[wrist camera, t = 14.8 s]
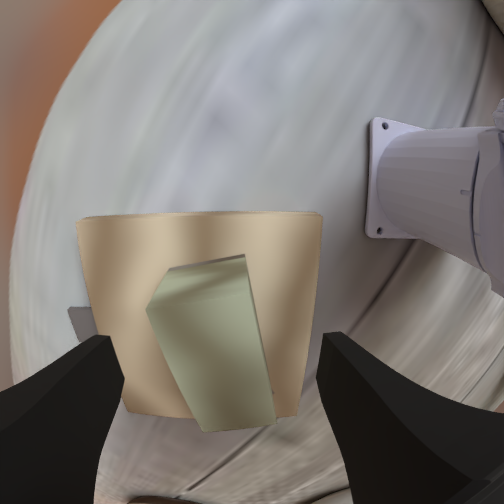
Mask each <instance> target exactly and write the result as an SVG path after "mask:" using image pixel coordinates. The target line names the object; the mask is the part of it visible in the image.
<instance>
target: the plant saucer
mask: <svg viewBox="0 0 504 504" xmlns="http://www.w3.org/2000/svg"><path fill="white" fill-rule="evenodd" d="M127 504H200V503H196V502H192V501H186V500H181V499H175V498H167V497H158V496H143V497H139V498H136V499H134V500H132V501H130V502H129V503H127Z"/></svg>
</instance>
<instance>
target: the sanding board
mask: <svg viewBox="0 0 504 504" xmlns="http://www.w3.org/2000/svg"><path fill="white" fill-rule="evenodd" d="M322 221H323V216H321V215H319V214H318V213H316V212H277V211H230V212H179V213H151V214H130V215H112V216H96V217H86V218H84V219H81V220H79V221H76V229H77V236H78V243H79V250H80V256H81V262H82V267H83V272H84V277H85V282H86V287H87V291H88V296H89V300H90V304H91V308H92V312H93V315H94V319H95V323H96V326H97V330H98V333H99V335H108V336H110V337H111V340H112V343H113V346H114V349H115V352H116V355H117V358H118V361H119V364H120V367H121V369H122V372H123V375H124V377H125V381H124V386H123V390H122V394H121V397H122V399H123V401H124V404H125V406H126V408H127V410H128V412H132V413H139V414H146V415H155V416H164V417H175V418H190V419H195V417H194V416H193V414H192V412H191V410H190V408H189V406H188V404H187V402H186V400H185V399H184V397H183V395H182V393H181V391H180V389H179V387H178V385H177V383H176V380H175V378H174V376H173V374H172V372H171V370H170V368H169V366H168V363H167V361H166V359H165V357H164V354H163V352H162V350H161V348H160V345H159V343H158V341H157V338H156V336H155V333H154V331H153V328H152V326H151V323H150V321H149V318H148V316H147V313H146V310H145V309H146V307H147V306H148V304H149V302H150V300H151V299H152V297H153V295H154V293H155V292H156V290H157V288H158V286H159V285H160V283H161V281H162V280H163V278H164V276H165V275H166V273H167V271H168V269H169V268H172V267H177V266H182V265H188V264H193V263H198V262H203V261H209V260H214V259H219V258H225V257H230V256H235V255H241V254H245V257H246V262H247V267H248V272H249V277H250V282H251V288H252V293H253V298H254V303H255V308H256V313H257V318H258V323H259V328H260V333H261V338H262V343H263V347H264V352H265V357H266V362H267V367H268V372H269V378H270V384H271V390H272V396H273V402H274V407H275V413H276V418H277V417H289V416H297V411H298V407H299V401H300V396H301V391H302V385H303V380H304V374H305V368H306V362H307V356H308V350H309V343H310V336H311V329H312V322H313V314H314V306H315V298H316V289H317V280H318V270H319V259H320V248H321V235H322Z"/></svg>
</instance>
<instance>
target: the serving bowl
mask: <svg viewBox="0 0 504 504" xmlns="http://www.w3.org/2000/svg"><path fill="white" fill-rule="evenodd" d="M311 504H353V501H352V495H351V490H350V488H347V489H344V490H341V491H338V492H335V493H332V494H330V495H327V496H325V497H323V498H322V499H320V500H317V501H315V502H313V503H311Z"/></svg>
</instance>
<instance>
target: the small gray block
mask: <svg viewBox="0 0 504 504" xmlns="http://www.w3.org/2000/svg"><path fill="white" fill-rule="evenodd" d="M68 313H69V316H70V319H71V322H72V324H73V327H74V330H75V332H76V335H77V337H78V340H79V342H84V341H85V340H87V339H88V338H90V337H92V336H94V335H96V334H97V335H99V333H98V330H97V326H96V323H95V319H94V315H93V312H92V308H91V307H70V308H69V309H68Z"/></svg>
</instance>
